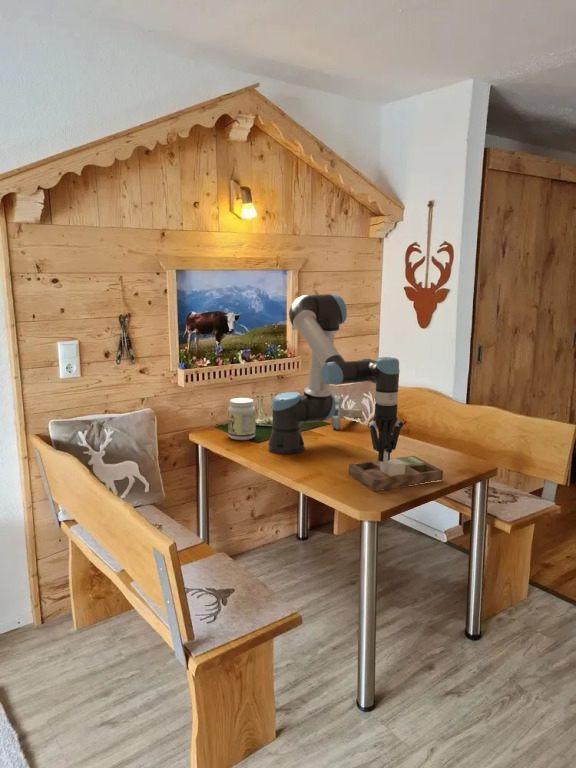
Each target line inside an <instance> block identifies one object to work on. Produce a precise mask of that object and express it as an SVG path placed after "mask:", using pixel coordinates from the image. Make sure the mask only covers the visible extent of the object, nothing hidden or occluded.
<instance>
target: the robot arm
mask: <svg viewBox="0 0 576 768" xmlns="http://www.w3.org/2000/svg"><path fill="white" fill-rule="evenodd" d="M288 315H289V317H288V318H289V321H290V322H289V323H290V324H291V326H292V327H293V328H294V330H295V331H297V332H299V333H300V334H301V336H302V338H303V339H304V340H305V342H306V343H307V345H308V347H309V348H310V350H311V353H310V364H309V374H308V383H307V386H306V387H305V388H304V389H303V395H301V393H299V392H296V391H292V392H290V391H289V392H282V393H278V394H276V395H275V396H274V397H273V399H272V406H271V408H272V415H271V416H272V431H271V435H270V437H269V440H268V444H267V445H268V447H267V449H268V451H269V452H272V453H274V454H279V455H292V454H293V455H294V454H299V453H302V452H303V451H305V442H304V438H303V435H302V433H301V424H307V423H317V422H318V423H321V422H325V421H328V420H331V418H332V416H333V415H334V413H335V409H336V403H335V398H334V396H335V395H333V393H332V391H331V389H330V388H329V386H330V385H335V386H336V385H337V386H338V385H343V384H354V383H367V382H370V383H373V384H375V397H374V398H375V399H374V401H375V404H374V418H373V422H372V423H368V424H367V428H368V429H369V432H370V437H371V444H372V449H373V450H374V451H376V452H378V456H377V457H378V459H377V460H379V461H380V469H381V470H382V471H387V470H388V461H389V460H390V459H391V453H392V452H393V451H395V450H396V448H397V445H398V440H399V436H400V433H401V429H402V428H403V425H404V423H403V422H401V421H400V420H398V416H397V415H398V401H399V400H398V399H399V382H400V381H399V380H400V371H401V370H400V361H399V359H398V358H396V357H390V356H389V357H388V356H382V357H378V358H377V359H376V360H375V359H371V358H361V359H359V360H349V361H347V360H345V358H343V357H342V355H341V354H340V352H339V351H338V349H337V348H336V346H335V345H334V344H335V343H334V341H335V335H336V333H337V332H339V330H340V325H343V324H344V323H345V321H346V320H347V318H348V317H347V316H348V311H347V305H346V303H345V301H344V299H343V298H342V297H341V296H340V295H338V294H330V293H328V294H327V293H326V294H325V293H324V294H304V295H301V296H299V297H297V298H296V299H295V300H294V301H293V302H292V304H291V306H290V308H289V313H288Z"/></svg>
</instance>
